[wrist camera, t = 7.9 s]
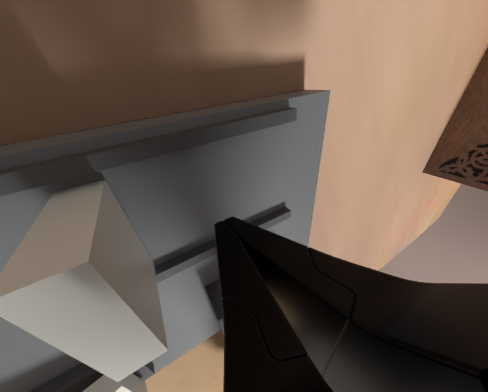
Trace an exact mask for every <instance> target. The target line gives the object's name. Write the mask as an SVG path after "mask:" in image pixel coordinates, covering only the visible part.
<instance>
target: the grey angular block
mask: <svg viewBox="0 0 488 392" xmlns="http://www.w3.org/2000/svg"><path fill="white" fill-rule="evenodd" d="M0 317H1V318H3V319H5V320H7V321H9V322H10V323H12V324H14V325H16V326H18V327H19V328H21V329H23V330H25V331H27V332H28V333H30V334H32V335H34V336H36V337H37V338H39V339H41V340H43V341H45V342H46V343H48V344H50V345H52V346H54V347H55V348H57V349H59V350H61V351H63V352H64V353H66V354H68V355H70V356H72V357H73V358H75V359H77V360H79V361H81V362H82V363H84V364H86V365H88V366H89V367H91V368H93V369H95V370H97V371H98V372H100V373H102V374H104V375H106V376H107V377H109V378H111V379H113V380H115V381H116V382H119V381H121V380H122V379H124V378H125V377H127V376H129V375H130V374H132V373H133V372H135V371H136V370H138V369H140V368H141V367H143V366H144V365H146V364H147V363H149V362H151V361H152V360H154V359H155V358H157V357H159V356H160V355H162V354H163V353H165V352H166V351H168V346H167V340H166V334H165V328H164V322H163V316H162V310H161V304H160V298H159V292H158V286H157V280H156V274H155V268H154V262H153V260H152V258H151V257H150V255H149V253H148V251H147V250H146V248H145V246H144V245H143V243H142V241H141V240H140V238H139V236H138V234H137V233H136V231H135V229H134V228H133V226H132V224H131V223H130V221H129V219H128V217H127V216H126V214H125V212H124V211H123V209H122V207H121V206H120V204H119V202H118V200H117V199H116V197H115V195H114V194H113V192H112V190H111V189H110V187H109V185H108V183H107V182H106V180H105V179H104V180H100V181H96V182H93V183H89V184H85V185H82V186H78V187H74V188H71V189H67V190H63V191H60V192H56V193H53V194H52V196H51V197H50V199H49V200H48V202H47V203H46V205H45V206H44V208H43V209H42V211H41V212H40V214H39V215H38V217H37V218H36V220H35V221H34V223H33V225H32V226H31V228H30V229H29V231H28V232H27V234H26V235H25V237H24V238H23V240H22V241H21V243H20V244H19V246H18V247H17V249H16V250H15V252H14V253H13V255H12V256H11V258H10V259H9V261H8V262H7V264H6V265H5V267H4V268H3V270H2V271H1V273H0Z"/></svg>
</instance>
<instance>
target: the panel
mask: <svg viewBox="0 0 488 392" xmlns="http://www.w3.org/2000/svg"><path fill="white" fill-rule="evenodd" d="M329 95H330V90H301V91H296V92H290V93H285V94H279V95H274V96H268V97H263V98H258V99H252V100H247V101H241V102H236V103H230V104H225V105H219V106H214V107H208V108H203V109H197V110H192V111H187V112H181V113H176V114H170V115H165V116H159V117H154V118H148V119H143V120H137V121H132V122H126V123H121V124H116V125H110V126H105V127H99V128H94V129H88V130H83V131H77V132H72V133H66V134H61V135H55V136H50V137H45V138H39V139H34V140H28V141H23V142H17V143H12V144H6V145H1V146H0V273H1V271H2V270H3V268H4V267H5V265H6V264H7V262H8V261H9V259H10V258H11V256H12V255H13V253H14V252H15V250H16V249H17V247H18V246H19V244H20V243H21V241H22V240H23V238H24V237H25V235H26V234H27V232H28V231H29V229H30V228H31V226H32V225H33V223H34V221H35V220H36V218H37V217H38V215H39V214H40V212H41V211H42V209H43V208H44V206H45V205H46V203H47V202H48V200H49V199H50V197H51V196H52V194H53V193H56V192H60V191H63V190H67V189H71V188H74V187H78V186H82V185H85V184H89V183H93V182H96V181H100V180H104V179H105V180H106V182H107V183H108V185H109V187H110V189H111V190H112V192H113V194H114V195H115V197H116V199H117V200H118V202H119V204H120V206H121V207H122V209H123V211H124V212H125V214H126V216H127V217H128V219H129V221H130V223H131V224H132V226H133V228H134V229H135V231H136V233H137V234H138V236H139V238H140V240H141V241H142V243H143V245H144V246H145V248H146V250H147V251H148V253H149V255H150V257H151V258H152V260H153V262H154V268H155V274H156V280H157V286H158V292H159V298H160V304H161V310H162V316H163V322H164V328H165V334H166V340H167V346H168V351H166V352H165V353H163V354H162V355H160V356H159V357H157V358H155V359H154V360H152V361H151V362H149V363H147V364H146V365H144V366H143V367H141V368H140V369H138V370H136V371H135V372H133V373H132V374H134V375H135V376H137V377H138V378H140V379H141V380H143V381H145V380H146V379H148V378H149V377H151V376H152V375H154V374H155V373H156V372H158V371H159V370H161V369H162V368H164V367H165V366H167V365H168V364H170V363H171V362H173V361H174V360H176V359H177V358H179V357H180V356H182V355H183V354H185V353H187V352H188V351H190V350H191V349H193V348H194V347H196V346H197V345H199V344H200V343H202V342H203V341H205V340H206V339H208V338H209V337H211V336H212V335H214V334H215V333H217V332H218V331H220V330H222V332H223V335H224V325H223V311H222V298H221V290H220V280H219V270H218V260H217V250H216V240H215V230H214V224H215V223H217V222H220V221H224V220H225V219H227V218H229V217H232V216H233V217H236V218H238V219H241V220H243V221H246V222H248V223H251V224H253V225H256V226H258V227H261V228H263V229H265V230H268V231H270V232H273V233H275V234H278V235H280V236H283V237H285V238H288V239H290V240H293V241H295V242H298V243H300V244H303V245H305V246H307V247H308V243H309V236H310V229H311V222H312V215H313V208H314V201H315V194H316V187H317V180H318V173H319V166H320V159H321V152H322V145H323V138H324V130H325V123H326V116H327V109H328V102H329ZM103 375H104V374H102V373H100V372H98V371H97V370H95V369H93V368H91V367H89V366H88V365H86V364H84V363H82V362H81V361H79V360H77V359H75V358H73V357H72V356H70V355H68V354H66V353H64V352H63V351H61V350H59V349H57V348H55V347H54V346H52V345H50V344H48V343H46V342H45V341H43V340H41V339H39V338H37V337H36V336H34V335H32V334H30V333H28V332H27V331H25V330H23V329H21V328H19V327H18V326H16V325H14V324H12V323H10V322H9V321H7V320H5V319H3V318H1V317H0V392H83V391H84V390H85V389H86V388H88V387H89V386H90V385H92V384H93V383H94V382H95V381H97V380H98V379H99V378H101V377H102V376H103Z"/></svg>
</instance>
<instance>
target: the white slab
mask: <svg viewBox="0 0 488 392" xmlns="http://www.w3.org/2000/svg"><path fill="white" fill-rule="evenodd" d="M83 392H147V388H146V384H145V382H144V381H143V380H141V379H140V378H138V377H137V376H135V375H134V374H130V375H129V376H127V377H125V378H124V379H122V380H121V381H119V382H116V381H115V380H113V379H111V378H109V377H107V376H106V375H103V376H102V377H101V378H99V379H98V380H97V381H95V382H94V383H93V384H92V385H90V386H89V387H88V388H86V389H85V390H84V391H83Z"/></svg>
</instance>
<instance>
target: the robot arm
mask: <svg viewBox="0 0 488 392" xmlns="http://www.w3.org/2000/svg"><path fill="white" fill-rule="evenodd" d="M214 230H215V240H216V250H217V260H218V270H219V280H220V290H221V298H222V311H223V325H224V388H223V392H488V284H475V283H474V284H473V283H469V284H468V283H463V284H462V283H461V284H460V283H424V282H417V281H411V280H406V279H403V278H399V277H396V276H392V275H389V274H386V273H383V272H380V271H376V270H373V269H370V268H367V267H364V266H360V265H357V264H354V263H351V262H348V261H345V260H342V259H339V258H336V257H333V256H331V255H328V254H325V253H323V252H320V251H318V250H315V249H313V248H310V247H309V248H308V247H307V246H305V245H303V244H300V243H298V242H295V241H293V240H290V239H288V238H285V237H283V236H280V235H278V234H275V233H273V232H270V231H268V230H265V229H263V228H261V227H258V226H256V225H253V224H251V223H248V222H246V221H243V220H241V219H238V218H236V217H233V216H232V217H229V218H227V219H225V220H224V221H220V222H217V223H215V224H214Z"/></svg>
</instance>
